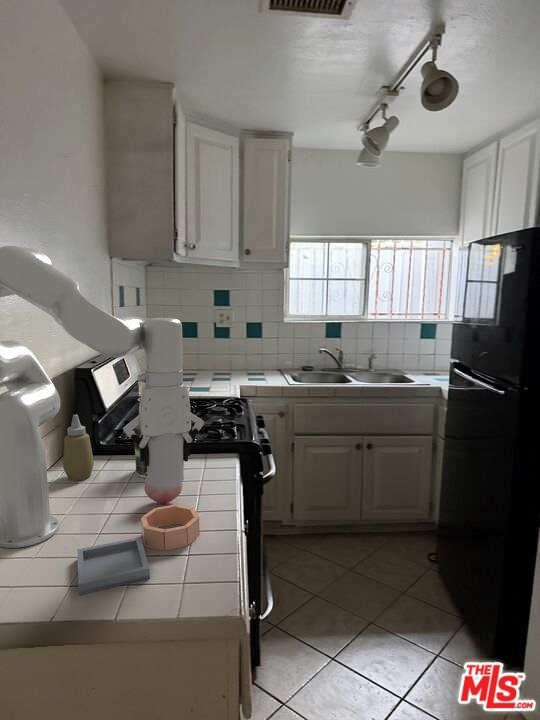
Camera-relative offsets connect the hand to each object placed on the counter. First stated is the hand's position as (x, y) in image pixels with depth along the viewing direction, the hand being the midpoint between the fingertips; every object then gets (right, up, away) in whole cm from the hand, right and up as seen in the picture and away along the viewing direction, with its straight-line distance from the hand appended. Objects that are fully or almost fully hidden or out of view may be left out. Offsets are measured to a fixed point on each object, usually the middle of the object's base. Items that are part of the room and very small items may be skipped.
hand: (165, 461), depth 99 cm
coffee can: (-12, -11, +38) cm, 41 cm away
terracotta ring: (+1, -16, +2) cm, 16 cm away
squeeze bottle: (-32, -12, +34) cm, 48 cm away
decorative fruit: (-4, -14, +18) cm, 23 cm away
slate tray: (-8, -18, -10) cm, 22 cm away
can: (0, -5, +1) cm, 5 cm away
